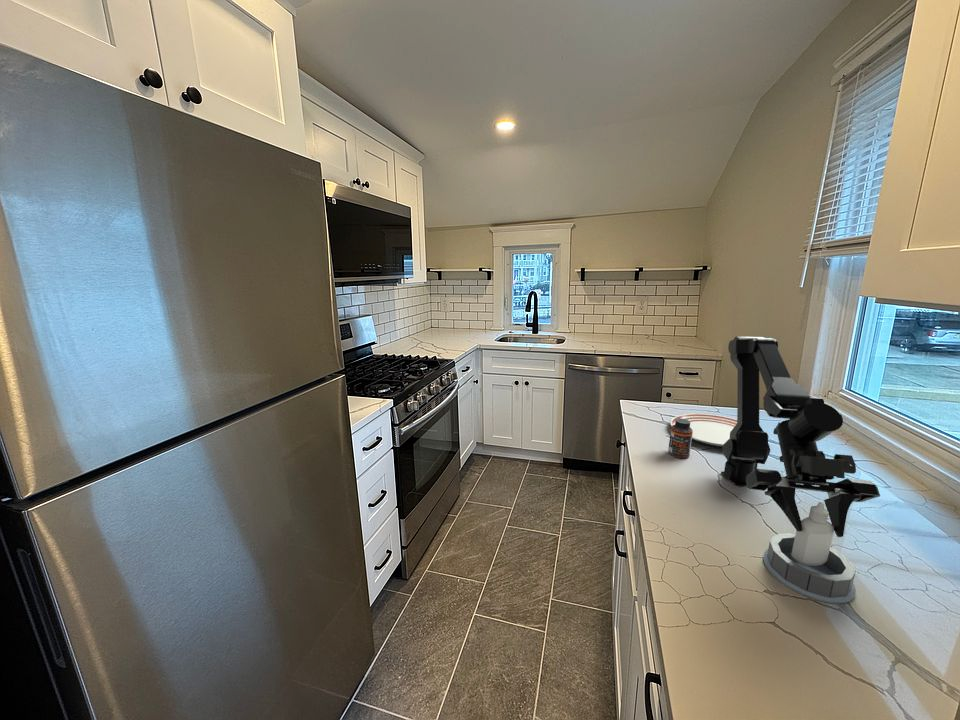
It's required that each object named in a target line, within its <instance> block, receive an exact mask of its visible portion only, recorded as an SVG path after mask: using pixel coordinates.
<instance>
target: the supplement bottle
mask: <svg viewBox="0 0 960 720" xmlns="http://www.w3.org/2000/svg"><path fill="white" fill-rule="evenodd" d="M670 427H671V428H670V432H669V433H670V435H669V441H668V449H667V452H668V454H669V455H670V456H672V457H674V458H678V459H687V458H689V457H690V454H691V447H692V440H693V439H692V434H693V430H692V429H691V428H690V421H689V420H686V419H681V418H679V419H676V421H675V425H673V426H670Z"/></svg>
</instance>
